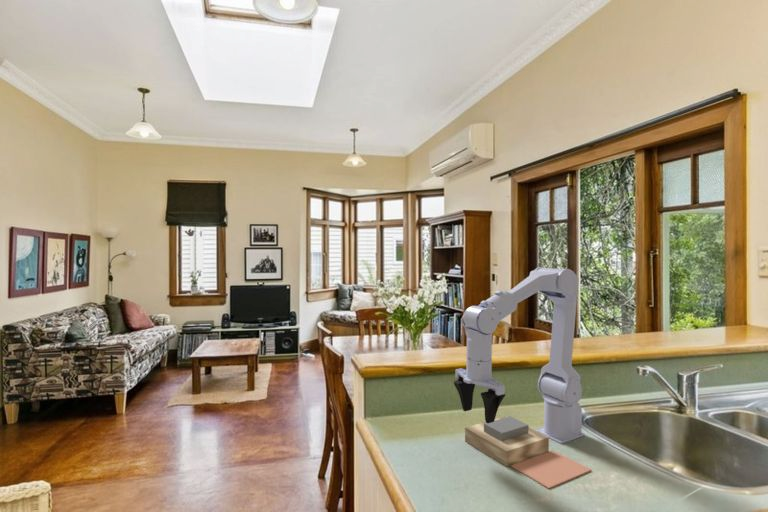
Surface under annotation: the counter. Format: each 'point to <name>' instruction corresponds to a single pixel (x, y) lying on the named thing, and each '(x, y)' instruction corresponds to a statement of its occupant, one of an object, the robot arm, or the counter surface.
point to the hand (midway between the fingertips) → (478, 415)
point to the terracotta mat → (551, 469)
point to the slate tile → (506, 428)
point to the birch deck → (507, 444)
